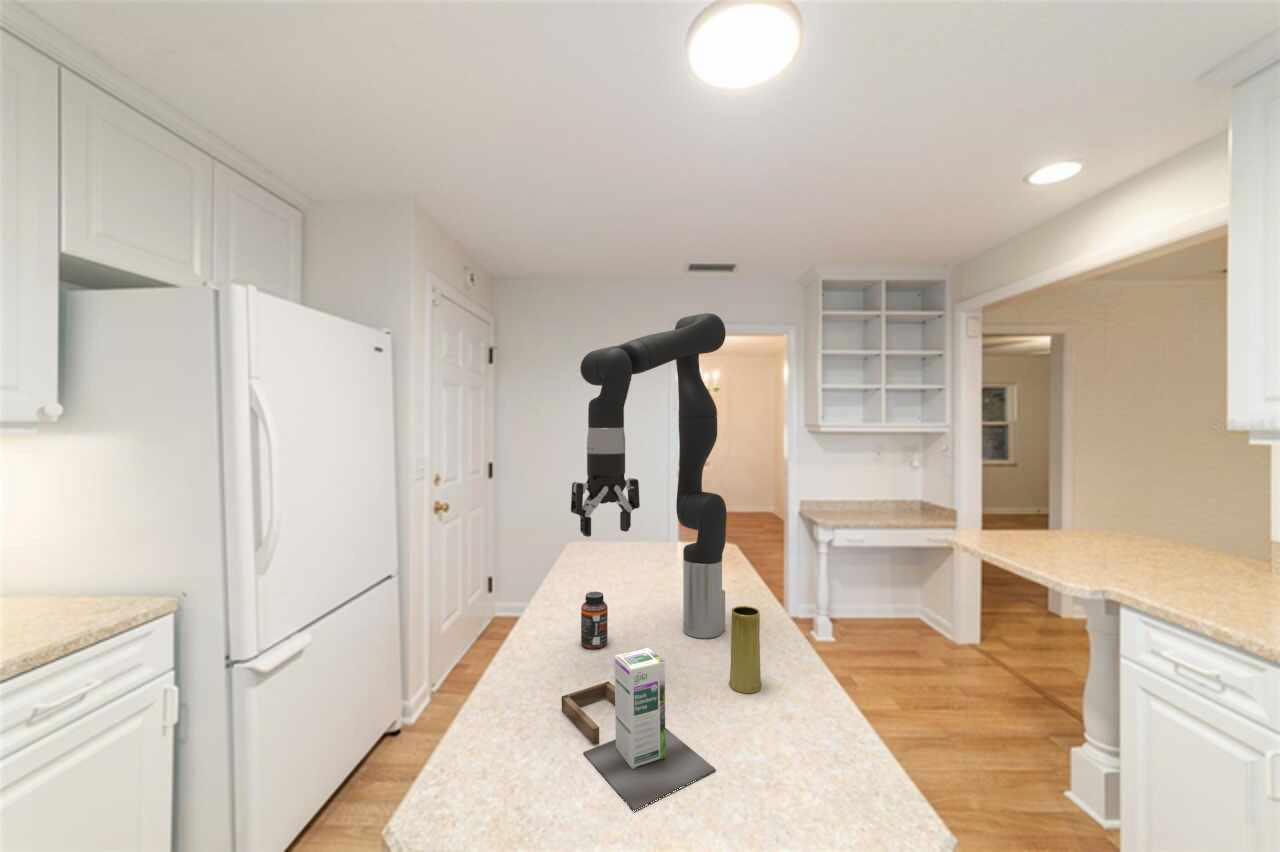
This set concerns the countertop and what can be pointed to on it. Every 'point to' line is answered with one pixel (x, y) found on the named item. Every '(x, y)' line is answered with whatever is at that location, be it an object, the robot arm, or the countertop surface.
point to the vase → (745, 650)
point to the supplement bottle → (594, 621)
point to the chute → (628, 782)
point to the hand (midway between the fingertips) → (606, 533)
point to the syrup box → (640, 707)
